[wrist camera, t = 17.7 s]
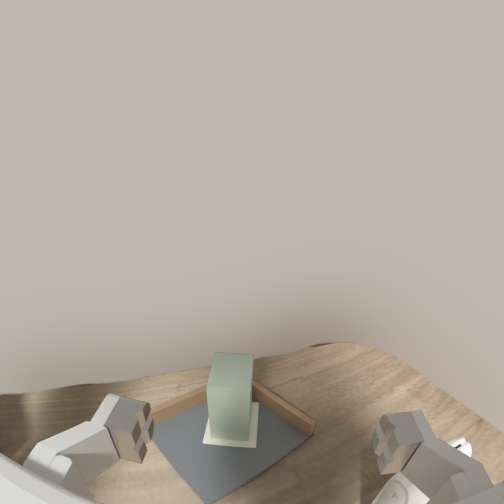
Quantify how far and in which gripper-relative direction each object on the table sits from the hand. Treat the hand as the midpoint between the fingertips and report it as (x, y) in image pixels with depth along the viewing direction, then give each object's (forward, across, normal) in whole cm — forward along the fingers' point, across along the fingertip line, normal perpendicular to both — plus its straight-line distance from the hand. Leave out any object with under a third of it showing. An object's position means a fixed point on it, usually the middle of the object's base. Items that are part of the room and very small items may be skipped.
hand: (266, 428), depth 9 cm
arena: (+21, +4, +26) cm, 34 cm away
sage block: (+23, +3, +25) cm, 34 cm away
